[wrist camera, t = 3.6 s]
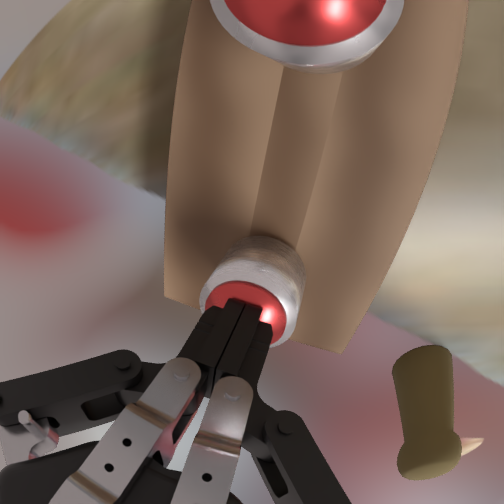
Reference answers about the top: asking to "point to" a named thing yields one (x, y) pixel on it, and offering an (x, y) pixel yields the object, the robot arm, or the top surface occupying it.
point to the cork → (426, 413)
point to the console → (306, 159)
